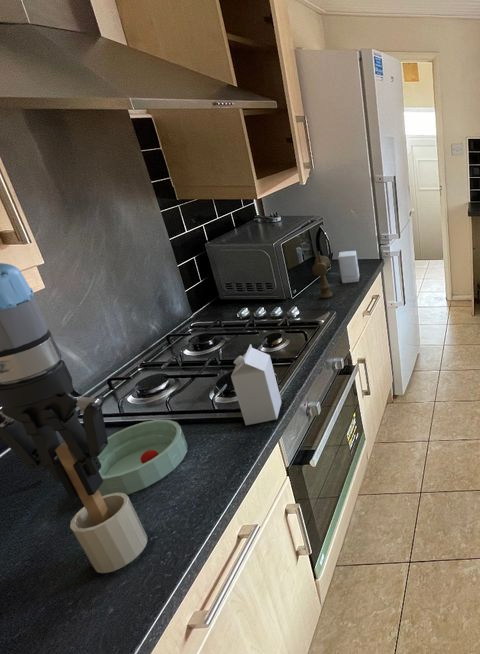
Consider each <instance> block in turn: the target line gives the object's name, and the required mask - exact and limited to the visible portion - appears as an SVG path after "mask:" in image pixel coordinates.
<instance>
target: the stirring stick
mask: <svg viewBox="0 0 480 654" xmlns="http://www.w3.org/2000/svg"><path fill="white" fill-rule="evenodd" d="M55 451H56V453H57V455H58V457H59V459H60V461H61V463H62V465H63V466H64V468H65V470H66V472H67V474H68V476H69V478H70V480H71V482H72V483H73V485H74V487H75V489H76V491H77V493H78V495H79V496H78V497H79V499H80V501H81V502H82V504H83V507H84V506H85V508H86V510H87V512H88V514H89V516H90V518H91V520H92V521H93V523H94V525H95V526H96V525H99V524H101V523H103V522H105V521H106V520H108V519H109V518H111V517H112V516H111V514H110V512H109V510H108V508H107V506H106V504H105V502H104V500H103V498H102V496H101V494H100V492H99V490H97V491H96V493H95V494H94V495H90V496H88V494H87V492H86V490H85V488H84V486H83V484H82V483H81V481H80V479H79V477H78V475H77V473H76V471H75V469H74V467H73V465H74V464H75V463H76V462H77V459H76V458H75V456H74V455H73V453H72V452H71V450H70V449H69V447H68V446H67V444H66V443H65V441H63V442H61V443H60V445H59V446H58V448H57V449H56V450H55Z"/></svg>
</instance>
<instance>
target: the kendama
mask: <svg viewBox="0 0 480 654" xmlns="http://www.w3.org/2000/svg"><path fill="white" fill-rule="evenodd" d="M330 266H331V260H330V257H328V256H326V255H321V252H320V251H317V257H315V259H314V265H312V269H311V271H312V273H313V275H314V276H316V277H320V285H319V286H318V288H319V289H320V291H321V292H320V294H319V297H320V298H321V299H328V298H332V297H333V295H334V292H332V291H331V283H329V281H328V279H327V277H326V274H328V268H330Z"/></svg>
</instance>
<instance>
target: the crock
mask: <svg viewBox="0 0 480 654" xmlns="http://www.w3.org/2000/svg"><path fill="white" fill-rule="evenodd" d="M102 498H103V500H104V502H105V504H106V506H107V508H108V510H109V512H110V514H111V516H112V517H111V518H109V519H108V520H106V521H105V522H103V523H101V524H99V525H96V526H95V525H94V523H93V521H92V520H91V518H90V516H89V514H88V512H87V510H86V508H85V506H84V505H83V507H82V508H80V509H79V510H78V512H76V514H75V515H74V516H73V517H72V519H71V520H70V525H69V528H70V530H71V532H72V535H74V538H75V539H76V541H77V543H78V544H79V546H80V548H81V549H82V551H83V554H84V555H85V556H86V558H87V559H88V561H89V563H90V565H91V567H92V568H93V570H94V571H95V572H96V573H98V574H99V573H100V574H107V573H112V572H115V571H117V570H119V569H122V568H124V567H125V566H127V565H128V564H130V563H131V562H133V561H134V560H135V559H137V557H138V556H139V555H140V554H142V552H143V551H144V549H145V548H146V546H147V543H148V535H147V533H146V531H145V529H144V526H143V525H142V523H141V520H140V518H139V516H138V514H137V512H136V510H135V508H134V506H133V503H132V502H131V499H130V498H129V496H128V495H126V494H125V493H113V494H108V495H105V496H103V497H102Z"/></svg>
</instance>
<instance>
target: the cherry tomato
mask: <svg viewBox="0 0 480 654" xmlns="http://www.w3.org/2000/svg"><path fill="white" fill-rule="evenodd" d="M157 455H158V452H157V451H155V450H149V451H146V452H145V453H143V455H142V456H141V462H142V463H143V464H144V463H146V462H148V461H150V460H152V459H153V458H154V457H156V456H157Z"/></svg>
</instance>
